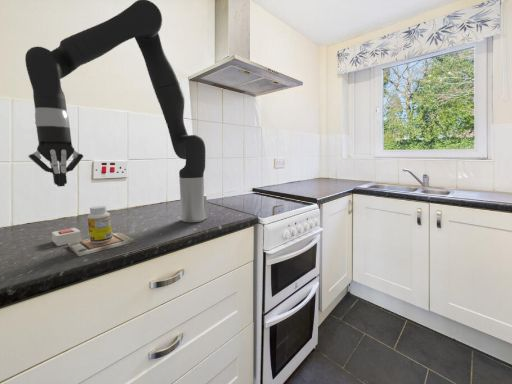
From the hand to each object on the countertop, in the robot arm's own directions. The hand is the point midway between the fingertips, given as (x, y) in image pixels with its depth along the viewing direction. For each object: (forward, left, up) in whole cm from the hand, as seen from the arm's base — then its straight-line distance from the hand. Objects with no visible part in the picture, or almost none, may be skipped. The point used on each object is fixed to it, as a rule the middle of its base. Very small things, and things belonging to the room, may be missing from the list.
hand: (61, 186), depth 75 cm
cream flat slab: (-6, +11, -17) cm, 21 cm away
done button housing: (0, 0, -17) cm, 17 cm away
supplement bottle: (-6, +11, -16) cm, 21 cm away
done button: (0, 0, -16) cm, 16 cm away
